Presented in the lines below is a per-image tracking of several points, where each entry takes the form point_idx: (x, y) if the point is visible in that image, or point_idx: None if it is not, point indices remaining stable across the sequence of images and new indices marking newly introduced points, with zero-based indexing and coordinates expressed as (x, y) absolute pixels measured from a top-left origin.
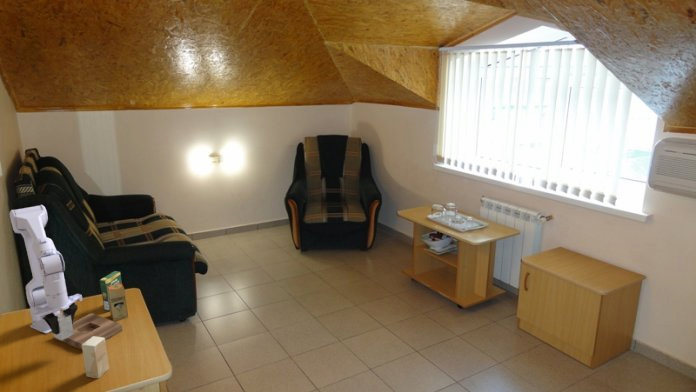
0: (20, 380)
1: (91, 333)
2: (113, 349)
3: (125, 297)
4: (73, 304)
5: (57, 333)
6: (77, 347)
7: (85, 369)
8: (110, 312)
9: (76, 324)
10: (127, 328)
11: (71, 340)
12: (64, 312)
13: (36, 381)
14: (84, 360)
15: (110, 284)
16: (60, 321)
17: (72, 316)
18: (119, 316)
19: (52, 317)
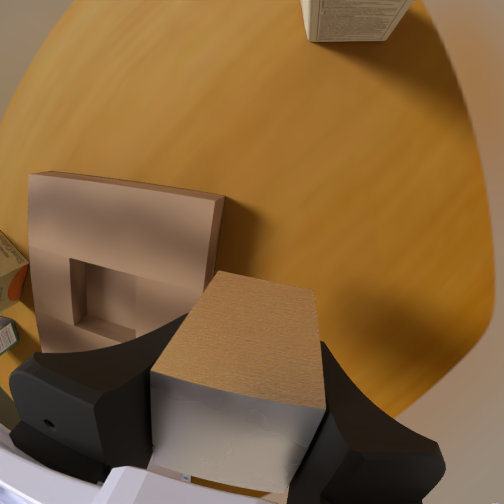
0: (467, 306)
1: (121, 253)
2: (165, 80)
3: None
4: (31, 432)
5: (321, 343)
6: (214, 260)
7: (396, 25)
8: (11, 304)
9: None
10: (36, 165)
11: None
12: (149, 448)
13: (468, 240)
14: (411, 1)
15: None
16: (299, 391)
17: (140, 351)
18: (7, 251)
19: (395, 482)
